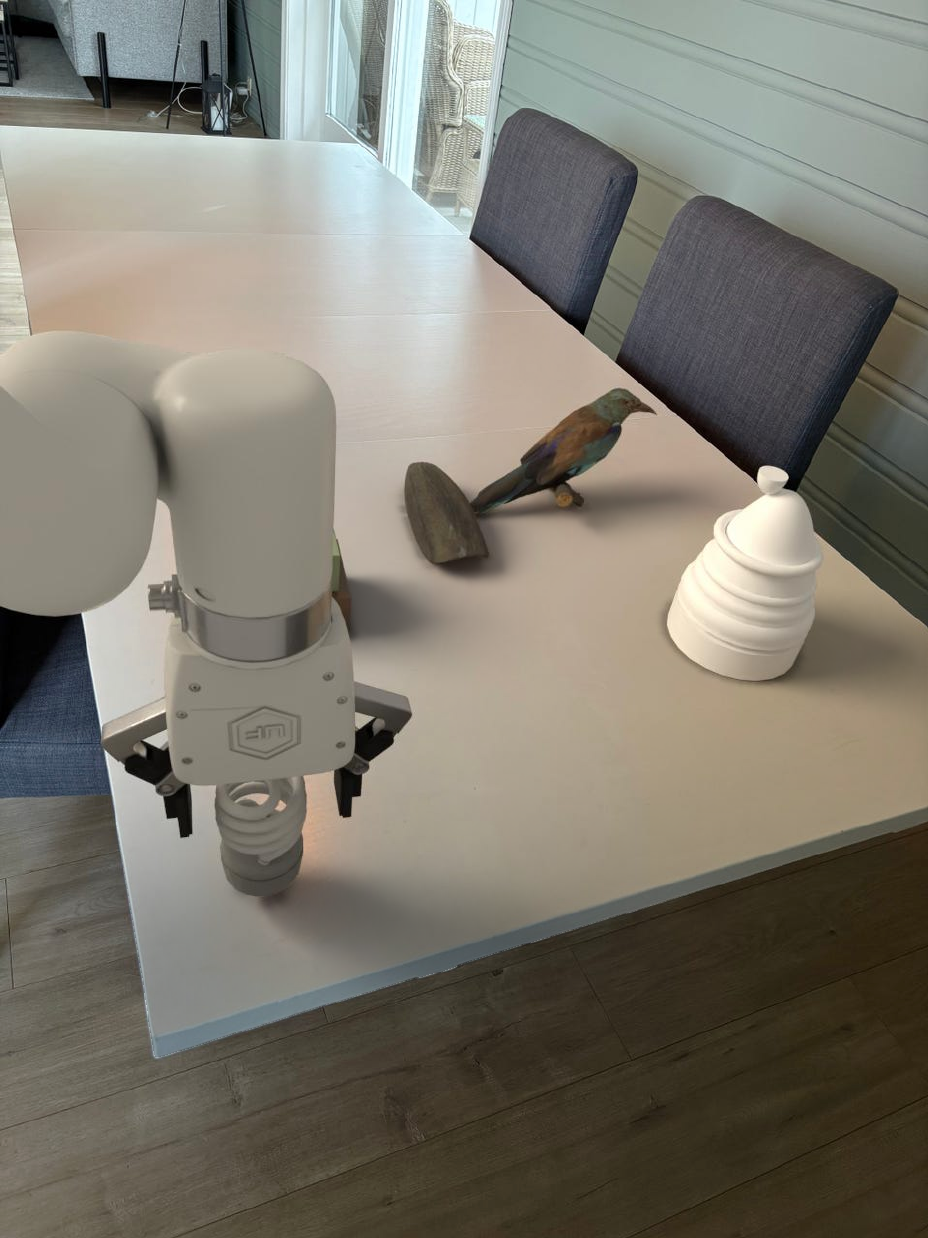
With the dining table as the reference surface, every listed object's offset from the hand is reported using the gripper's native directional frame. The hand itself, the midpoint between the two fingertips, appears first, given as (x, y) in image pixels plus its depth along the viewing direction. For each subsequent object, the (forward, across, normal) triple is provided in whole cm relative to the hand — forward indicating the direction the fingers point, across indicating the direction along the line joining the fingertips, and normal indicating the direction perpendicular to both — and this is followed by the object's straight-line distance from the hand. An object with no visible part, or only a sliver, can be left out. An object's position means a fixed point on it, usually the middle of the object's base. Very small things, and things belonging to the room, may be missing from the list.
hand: (265, 809), depth 57 cm
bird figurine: (+9, +36, +46) cm, 58 cm away
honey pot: (+9, +47, +22) cm, 52 cm away
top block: (+4, +5, +30) cm, 30 cm away
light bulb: (+9, 0, 0) cm, 9 cm away
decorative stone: (+9, +21, +42) cm, 47 cm away
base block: (+8, +5, +30) cm, 31 cm away
